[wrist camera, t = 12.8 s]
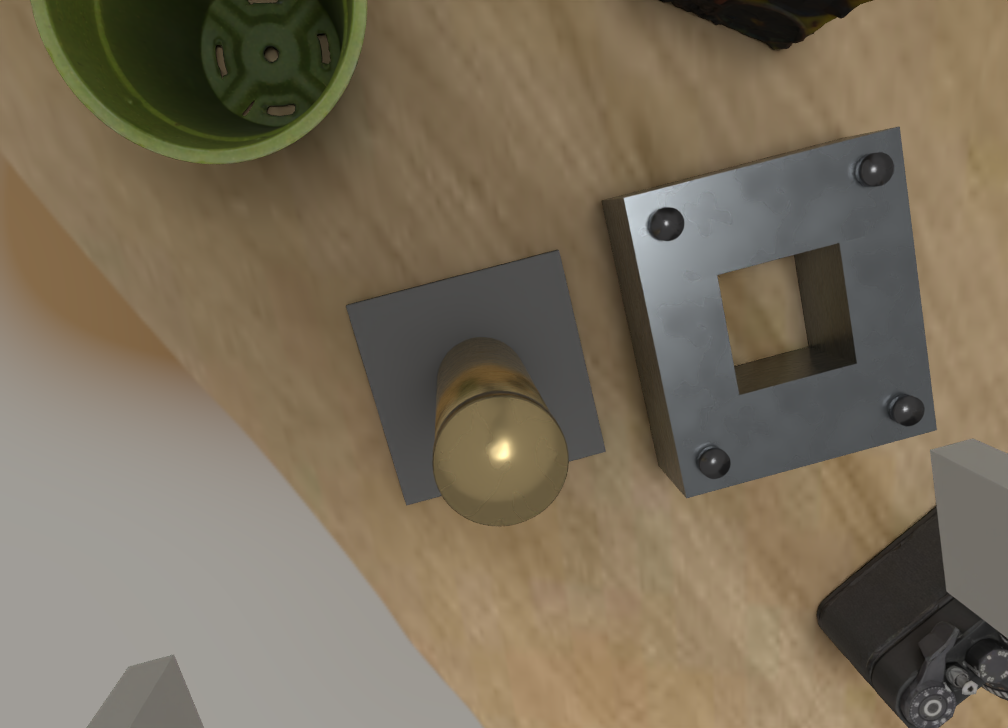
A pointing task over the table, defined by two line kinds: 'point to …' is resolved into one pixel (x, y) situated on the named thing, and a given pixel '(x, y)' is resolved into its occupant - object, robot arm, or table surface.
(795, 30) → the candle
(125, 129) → the plant pot
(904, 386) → the housing
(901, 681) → the camera
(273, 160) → the table surface
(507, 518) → the plug
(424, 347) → the mat
